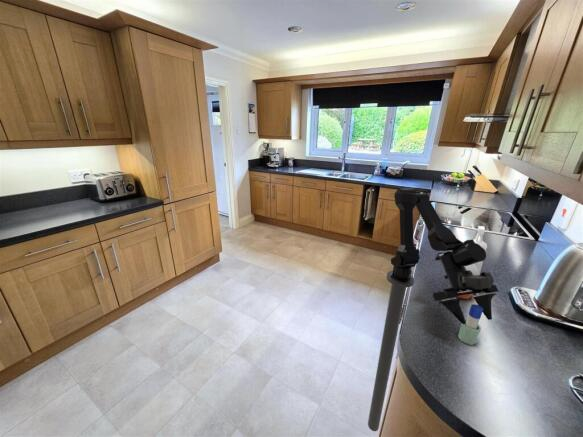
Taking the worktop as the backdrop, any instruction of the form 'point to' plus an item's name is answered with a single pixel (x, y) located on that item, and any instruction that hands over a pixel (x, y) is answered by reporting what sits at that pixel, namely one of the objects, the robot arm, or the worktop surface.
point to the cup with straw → (475, 272)
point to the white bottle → (480, 243)
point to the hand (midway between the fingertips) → (477, 321)
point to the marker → (474, 316)
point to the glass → (469, 334)
